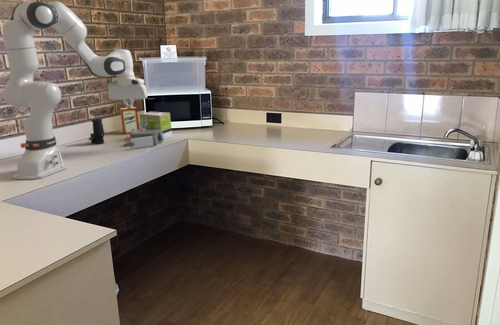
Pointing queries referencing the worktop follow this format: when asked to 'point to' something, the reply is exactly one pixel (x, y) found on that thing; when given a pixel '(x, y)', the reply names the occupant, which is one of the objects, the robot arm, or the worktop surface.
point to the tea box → (157, 122)
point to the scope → (97, 132)
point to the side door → (142, 142)
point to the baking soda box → (129, 120)
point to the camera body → (149, 134)
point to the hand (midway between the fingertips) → (129, 108)
